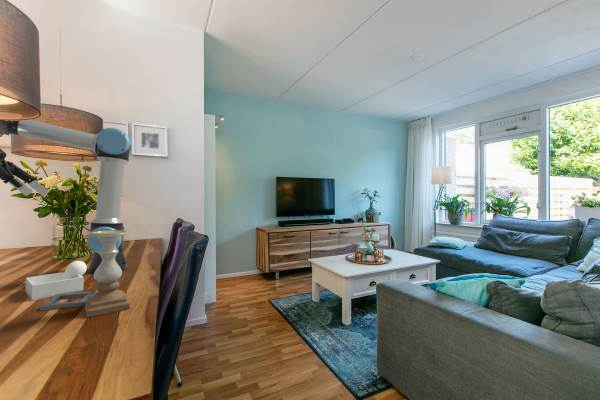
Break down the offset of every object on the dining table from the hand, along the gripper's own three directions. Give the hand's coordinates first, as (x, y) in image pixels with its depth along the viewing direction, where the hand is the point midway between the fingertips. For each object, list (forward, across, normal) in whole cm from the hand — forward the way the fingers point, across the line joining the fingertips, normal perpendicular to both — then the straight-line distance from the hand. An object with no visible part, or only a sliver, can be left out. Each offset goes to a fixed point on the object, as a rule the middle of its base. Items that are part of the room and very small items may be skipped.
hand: (38, 193), depth 106 cm
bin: (+32, +12, -19) cm, 39 cm away
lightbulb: (+31, +11, -18) cm, 37 cm away
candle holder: (+47, +36, -4) cm, 59 cm away
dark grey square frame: (+38, +26, -12) cm, 48 cm away
